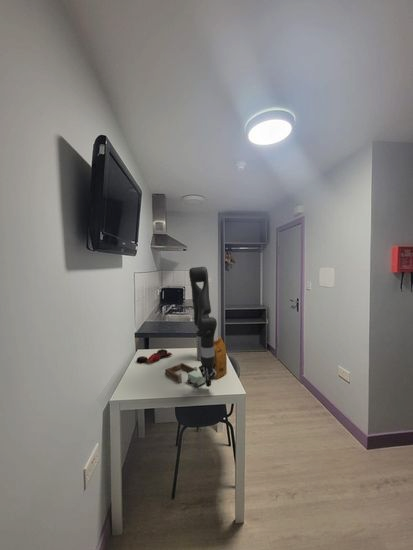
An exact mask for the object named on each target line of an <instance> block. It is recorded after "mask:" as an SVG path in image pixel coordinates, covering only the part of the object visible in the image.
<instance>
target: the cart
mask: <svg viewBox="0 0 413 550" xmlns="http://www.w3.org/2000/svg"><path fill="white" fill-rule="evenodd" d="M186 383H187V384H191V383H192V384H193V387H195V388H197V387H198V386H200V385H203V384H206V379H205V377H203V376H202V374H201V372H200V371H198V370H197V371H195V370H194V371H192V372H190V373H189V372H187V380H186Z"/></svg>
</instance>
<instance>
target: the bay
mask: <svg viewBox="0 0 413 550" xmlns="http://www.w3.org/2000/svg"><path fill="white" fill-rule="evenodd" d="M182 370H183V371H184V372H187V373H190V372H192V371H194V370H195V371H197V372H198V367H197V366H194V367H192V366H190V365H187V364H186V363H180V364H176V365H173V366H171V367H169V368H166V369H165V373H164V374H165V376H166V377H168V378H170V379H172V380H173V381H175V382H177V383H178V384H182V382H183V381H182V380H183V379H182V373H180V372H179V371H182ZM177 372H179V373H177Z"/></svg>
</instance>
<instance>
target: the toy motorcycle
mask: <svg viewBox="0 0 413 550" xmlns="http://www.w3.org/2000/svg"><path fill="white" fill-rule="evenodd" d="M172 355H173V353H172V352H168V350H167V349H163V348H161V349H159V350H157V351H156V352H154V353H153V354H151V355H150V356H149V357H147V356H143V355H142V356H138V357H137V358H136V362H137V363H139V364H145V363H146V364H155V363H156V362H158V361H160V359H162V358H166V357H170V356H172Z"/></svg>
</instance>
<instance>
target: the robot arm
mask: <svg viewBox="0 0 413 550" xmlns="http://www.w3.org/2000/svg"><path fill="white" fill-rule="evenodd" d="M188 273H189V275H188V276H189V281H190V287H191V298H192V307H193V321H194V325H195V326H196V327H197V329H198V330H197V331H196V359H197V360H198V361H200V366H198V370H199V372H200V373H201V374H202V376H203V377H205V380H206V383H205V386H206V387H208V388H209V387H211V386H212V380H215V379H214V378H215V376H216V375H217V374H218V372H217V371H215V370H214V363H215V351H214V341H215V333H216V330H217V326H218V324H217V323H218V322H217V319H216V318H215V317H212V316H210V314H211V313H212V306H211V300H210V287H209V286H210V285H209V274H208V269H207V267H206V266H196V267H191V268H189V271H188ZM198 283H203V285H202V288H201V287H200V286H199V285H198ZM209 376H210V377H209Z"/></svg>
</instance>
